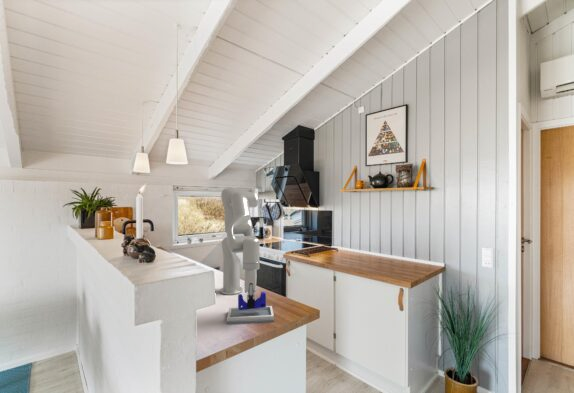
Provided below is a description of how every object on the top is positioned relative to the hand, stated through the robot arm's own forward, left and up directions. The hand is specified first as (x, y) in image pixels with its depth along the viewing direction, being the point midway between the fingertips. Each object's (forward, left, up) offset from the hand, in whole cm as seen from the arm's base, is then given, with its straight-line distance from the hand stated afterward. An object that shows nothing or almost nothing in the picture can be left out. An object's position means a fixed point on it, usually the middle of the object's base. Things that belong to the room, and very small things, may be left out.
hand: (250, 305), depth 127 cm
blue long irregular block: (0, 0, -1) cm, 1 cm away
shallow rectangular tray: (0, 0, -5) cm, 5 cm away
